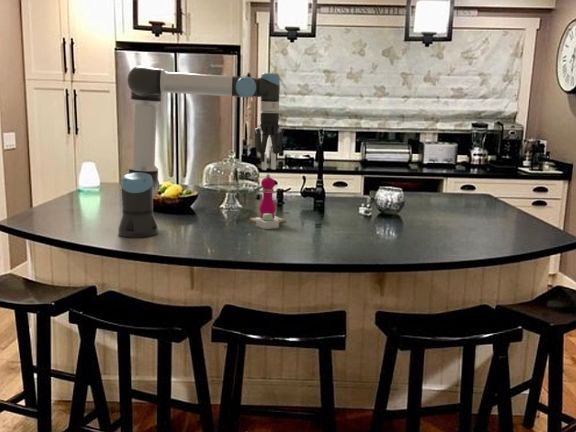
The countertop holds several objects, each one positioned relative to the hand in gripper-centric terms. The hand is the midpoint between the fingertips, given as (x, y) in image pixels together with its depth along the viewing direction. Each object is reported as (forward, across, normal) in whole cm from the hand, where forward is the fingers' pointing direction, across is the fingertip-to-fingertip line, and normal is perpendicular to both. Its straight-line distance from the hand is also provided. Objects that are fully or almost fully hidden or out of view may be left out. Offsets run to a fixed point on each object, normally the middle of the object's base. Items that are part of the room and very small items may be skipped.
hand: (268, 169), depth 240 cm
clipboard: (+25, +6, +10) cm, 27 cm away
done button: (+23, 0, 0) cm, 23 cm away
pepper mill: (+24, +5, +10) cm, 26 cm away
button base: (+25, 0, 0) cm, 25 cm away
